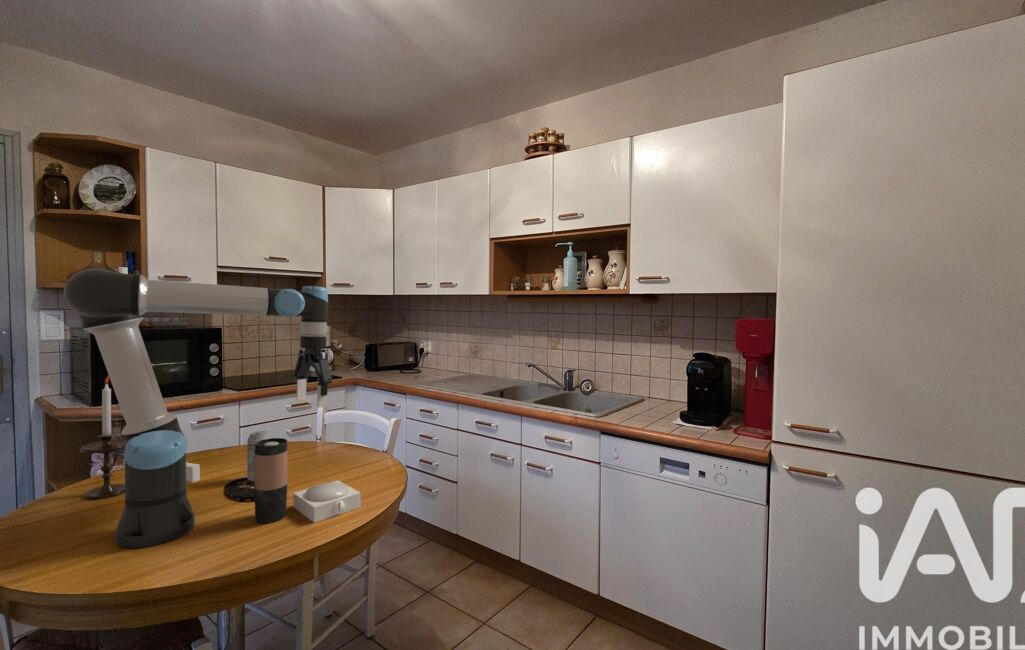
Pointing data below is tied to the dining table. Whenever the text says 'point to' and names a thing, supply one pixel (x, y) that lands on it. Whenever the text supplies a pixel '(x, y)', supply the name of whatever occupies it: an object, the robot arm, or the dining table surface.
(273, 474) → the travel mug
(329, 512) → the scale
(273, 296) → the robot arm
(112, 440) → the candlestick
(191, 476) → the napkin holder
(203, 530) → the dining table surface
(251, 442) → the energy drink can
